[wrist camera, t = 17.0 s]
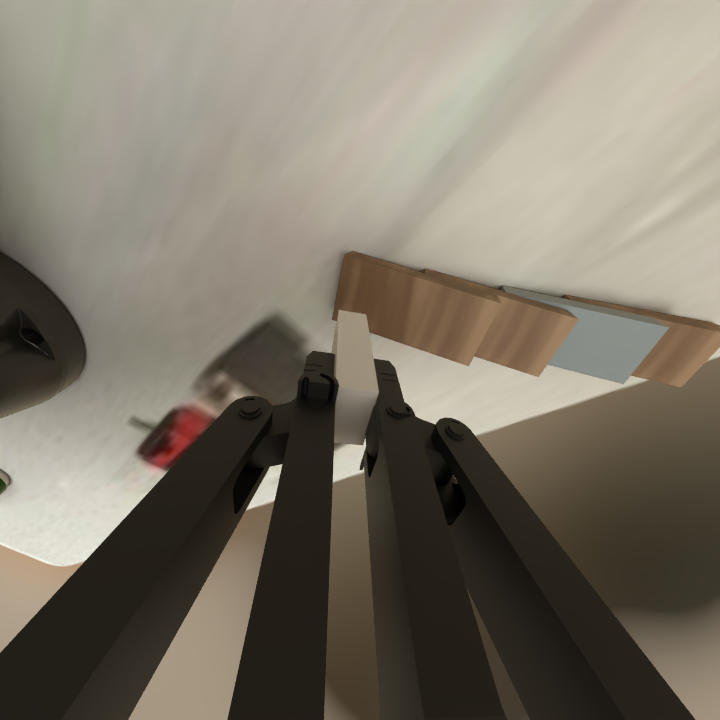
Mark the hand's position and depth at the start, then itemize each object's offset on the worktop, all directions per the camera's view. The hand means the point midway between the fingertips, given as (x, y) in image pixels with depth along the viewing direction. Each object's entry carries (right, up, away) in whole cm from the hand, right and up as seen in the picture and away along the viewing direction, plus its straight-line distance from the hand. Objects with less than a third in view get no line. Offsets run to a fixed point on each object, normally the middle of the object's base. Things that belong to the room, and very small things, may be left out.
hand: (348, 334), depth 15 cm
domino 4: (+18, +2, +9) cm, 20 cm away
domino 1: (-1, +4, +6) cm, 7 cm away
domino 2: (+5, +3, +7) cm, 9 cm away
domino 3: (+12, +2, +8) cm, 15 cm away
